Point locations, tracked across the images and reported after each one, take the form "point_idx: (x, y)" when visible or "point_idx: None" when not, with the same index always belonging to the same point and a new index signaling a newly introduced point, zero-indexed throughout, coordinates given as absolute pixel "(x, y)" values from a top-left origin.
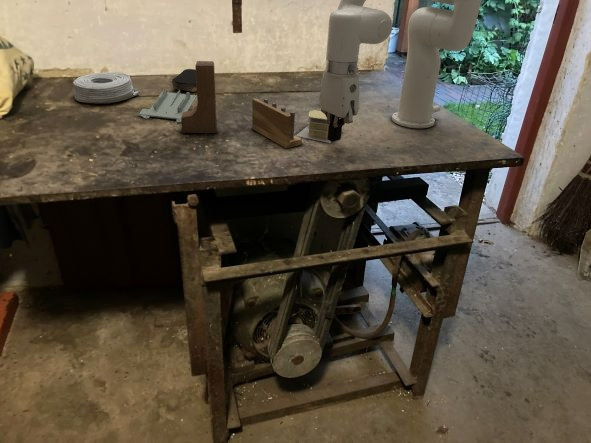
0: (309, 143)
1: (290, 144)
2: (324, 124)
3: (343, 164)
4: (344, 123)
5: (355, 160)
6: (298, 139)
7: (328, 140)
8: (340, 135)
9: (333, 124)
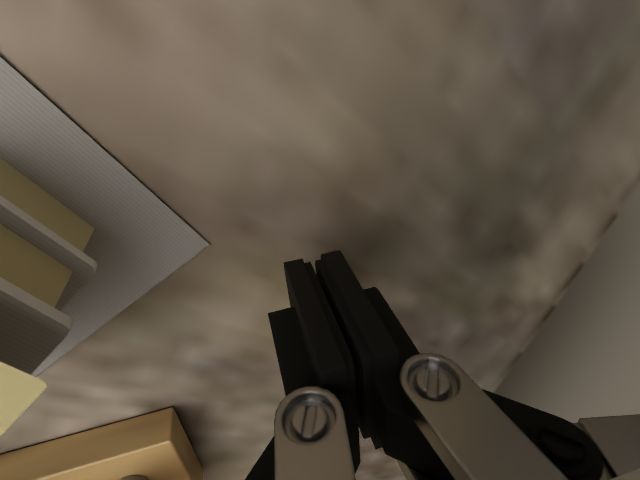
0: (165, 364)
1: (195, 472)
2: (43, 357)
3: (501, 295)
4: (509, 405)
5: (516, 217)
6: (169, 456)
7: (150, 232)
8: (381, 298)
9: (401, 462)
